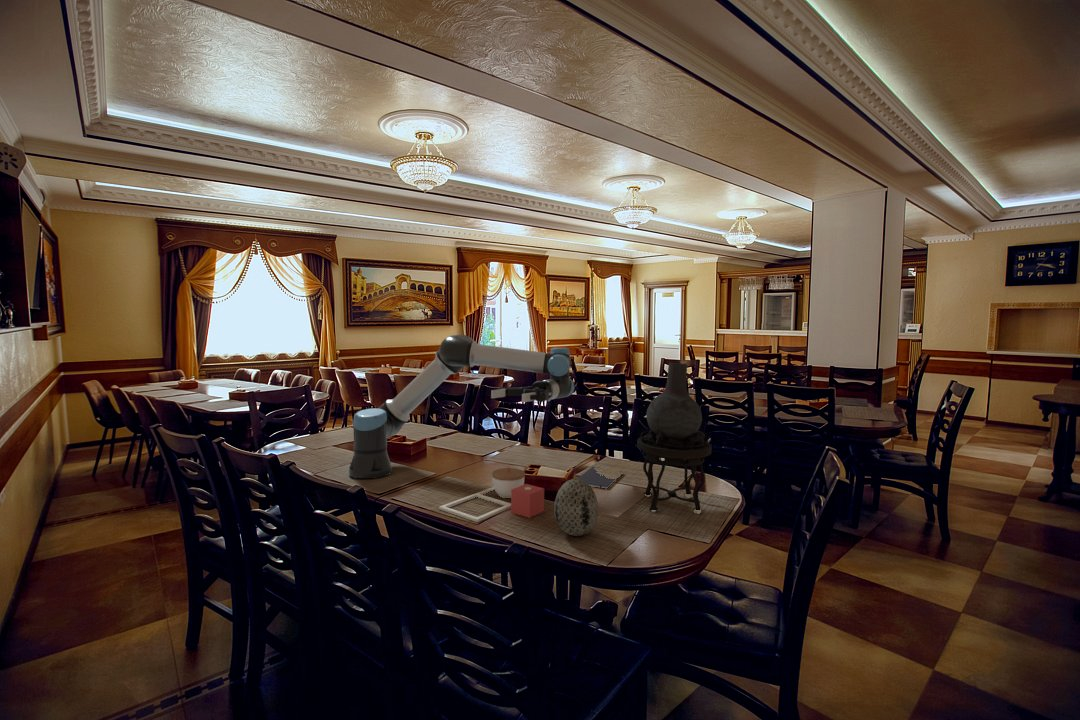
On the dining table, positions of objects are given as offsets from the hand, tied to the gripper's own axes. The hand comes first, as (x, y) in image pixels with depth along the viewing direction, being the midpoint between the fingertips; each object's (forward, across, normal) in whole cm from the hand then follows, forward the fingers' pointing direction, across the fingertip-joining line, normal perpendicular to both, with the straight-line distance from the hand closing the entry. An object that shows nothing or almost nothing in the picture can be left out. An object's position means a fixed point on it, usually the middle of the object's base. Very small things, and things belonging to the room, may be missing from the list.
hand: (506, 396), depth 167 cm
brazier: (-23, -50, -32) cm, 63 cm away
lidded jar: (+4, -4, -32) cm, 33 cm away
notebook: (-31, -18, -33) cm, 49 cm away
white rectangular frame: (+11, -4, -32) cm, 34 cm away
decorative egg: (+16, -38, -32) cm, 53 cm away
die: (+11, -18, -32) cm, 39 cm away
